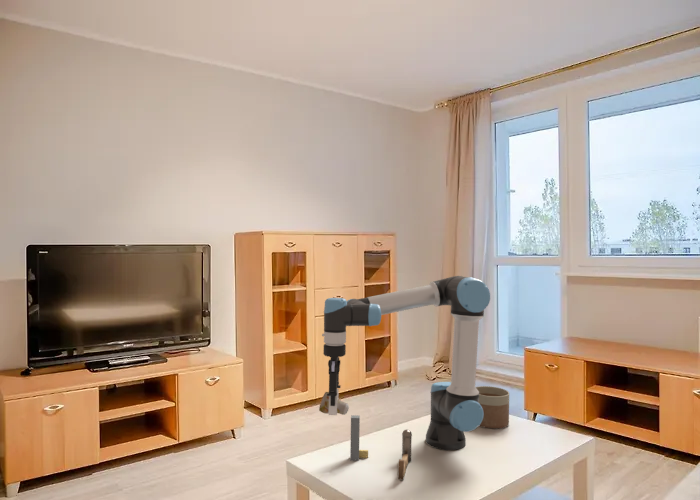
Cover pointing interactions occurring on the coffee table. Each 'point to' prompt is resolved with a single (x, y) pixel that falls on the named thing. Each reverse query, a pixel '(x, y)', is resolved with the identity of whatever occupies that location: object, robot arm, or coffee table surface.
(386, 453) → the coffee table surface
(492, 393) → the planter
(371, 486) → the coffee table surface
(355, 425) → the post
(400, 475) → the gate
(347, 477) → the coffee table surface
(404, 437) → the hinge post
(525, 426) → the coffee table surface
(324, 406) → the white floral pitcher
